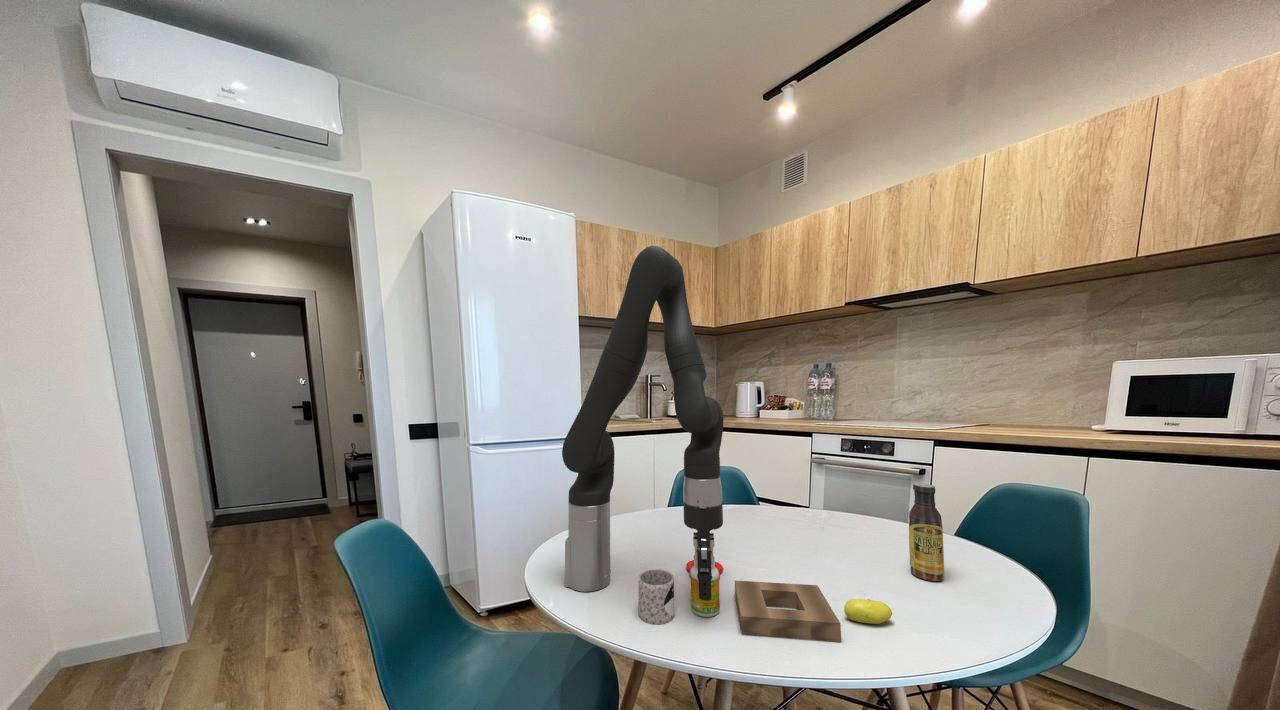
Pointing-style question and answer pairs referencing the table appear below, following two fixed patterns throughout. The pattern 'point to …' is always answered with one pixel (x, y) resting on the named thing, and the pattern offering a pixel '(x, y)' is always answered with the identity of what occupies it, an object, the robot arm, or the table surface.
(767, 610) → the socket plate
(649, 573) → the mug
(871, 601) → the yellow potato
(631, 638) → the table surface
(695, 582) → the supplement bottle
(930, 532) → the sauce bottle
